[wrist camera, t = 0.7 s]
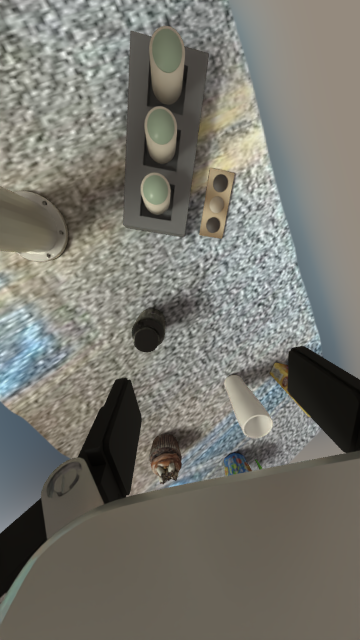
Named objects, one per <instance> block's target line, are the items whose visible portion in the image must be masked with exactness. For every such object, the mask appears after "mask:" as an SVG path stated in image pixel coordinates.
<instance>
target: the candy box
mask: <svg viewBox="0 0 360 640" xmlns="http://www.w3.org/2000/svg"><path fill="white" fill-rule="evenodd" d="M270 374H271V376H272V377H273V378H274V379H275V380H276V381H277V382H278V383H279V384H280V386H281V387H282V388H283V389H284V390H285V391H286V392H287V393H288V390H287V383H288V365H285V364H280V363H274V366H273V368H272V370H271V372H270ZM288 394H289V393H288ZM289 395H290V394H289ZM290 397H291V395H290ZM291 398H292V397H291ZM292 399H293V398H292ZM293 400H294V399H293ZM294 401H295V400H294ZM295 402H296V401H295ZM296 403H297V402H296ZM297 404H298V403H297ZM298 405H299V404H298ZM299 406H300V405H299ZM300 408H301V409H302V410H303V411H304V412H305V413H306V411H305V410H304V409H303V408H302V407H301V406H300ZM306 414H307V413H306ZM307 415H308V414H307ZM308 416H309V415H308ZM309 417H310V416H309Z"/></svg>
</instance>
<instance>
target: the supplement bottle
mask: <svg viewBox="0 0 360 640" xmlns="http://www.w3.org/2000/svg"><path fill="white" fill-rule="evenodd" d="M165 325H166V321H165V317H164V315H163V314H162V313H161V312H160V311H159V310H157V309H146V310H144V311H143V312H142V313H141V314H140V315H139V317H138V318H137V320H136V322H135V324H134V326H133V328H132V338H133V341H134V345H135V347H136V348H137V349H138V350H140V351H143V352H151V351H153V350H155V348H157V346H158V345H160V344H161V343H162V341H163V340H164V337H165Z"/></svg>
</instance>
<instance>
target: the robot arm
mask: <svg viewBox="0 0 360 640" xmlns="http://www.w3.org/2000/svg"><path fill="white" fill-rule="evenodd" d="M63 232H64V234H63ZM67 241H68V230H67V225H66V222H65V220H64V218H63V216H62V214H61V213H60V211H59V210H58V209H57V207H56V206H54V205H53V204H52V203H51V202H50V201H49V200H47V199H46V198H44V197H42V196H40V195H38V194H36V193H33V192H29V191H17V192H12V191H10V190H8V189H5V188H3V187H1V186H0V251H6V252H15V253H17V254H18V255H20V256H21V257H23V258H26V259H28V260H31V261H37V262H46V261H51V260H54V259H55V258H57V257H59V256H60V255H61V254H62V253H63V251H64V250H65V248H66V245H67ZM50 255H51V256H50ZM287 390H288V393H289V394H290V395H291V397H292V398H293V399H294V400H295V401H296V402H297V403H298V404H299V405H300V406H301V407H302V408H303V409H304V410H305V411H306V413H307V414H308V415H309V416H310V417H311V418H312V419H313V420H314V421H315V422H316V423H317V424H318V425H319V426H320V427H321V429H322V430H323V431H324V432H325V433H326V434H327V435H328V436H329V437H330V438H331V439H332V440H333V441H334V442H335V443H336V445H338V447H339V448H340V449H341V450H342V451H343V452H345V453H346V454H340V455H335V456H329V457H323V458H318V459H313V460H307V461H302V462H297V463H291V464H286V465H281V466H276V467H270V468H265V469H260V470H255V471H250V472H244V473H239V474H234V475H229V476H224V477H219V478H214V479H209V480H204V481H199V482H194V483H189V484H184V485H179V486H174V487H169V488H164V489H160V490H155V491H151V492H146V493H142V494H137V495H133V496H129V497H126V495H129V494H130V490H131V484H132V478H133V472H134V466H135V459H136V453H137V447H138V441H139V434H140V428H141V422H142V419H141V413H140V410H139V407H138V403H137V400H136V397H135V393H134V390H133V386H132V383H131V380H127V378H122V379H116V380H115V382H114V384H113V387H112V389H111V391H110V393H109V396H108V398H107V400H106V402H105V405H104V406H103V407H101V409H100V410H99V412H98V414H97V417H96V419H95V421H94V423H93V425H92V428H91V430H90V432H89V434H88V436H87V438H86V441H85V443H84V445H83V447H82V449H81V451H80V454H79V456H78V458H72V459H70V460H67V461H66V462H64V463H63V464H61V465H60V466H59V467H57V468H56V469H55V470H54V471H53V472H52V474H51V475H50V476H49V477H48V479H47V481H46V482H45V484H44V486H43V489H42V492H41V498H40V499H39V500H38V501H37V502H36V503H35V504H34V505H33V506H31V507H30V508H29V509H28V510H27V511H26V512H25V513H23V514H22V515H21V516H20V517H19V518H18V519H16V520H15V521H14V522H13V523H12V524H11V525H9V526H8V527H7V528H6V529H5V530H4V531H3V532H2V533H0V640H360V380H359V379H358V378H356V377H354V376H353V375H351V374H349V373H348V372H346V371H344V370H343V369H341V368H339V367H338V366H336V365H334V364H333V363H331V362H329V361H328V360H326V359H324V358H323V357H321V356H319V355H318V354H316V353H314V352H313V351H311V350H310V349H308V348H306V347H304V346H300V347H294V348H292V349H291V351H289V359H288V383H287Z"/></svg>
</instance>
